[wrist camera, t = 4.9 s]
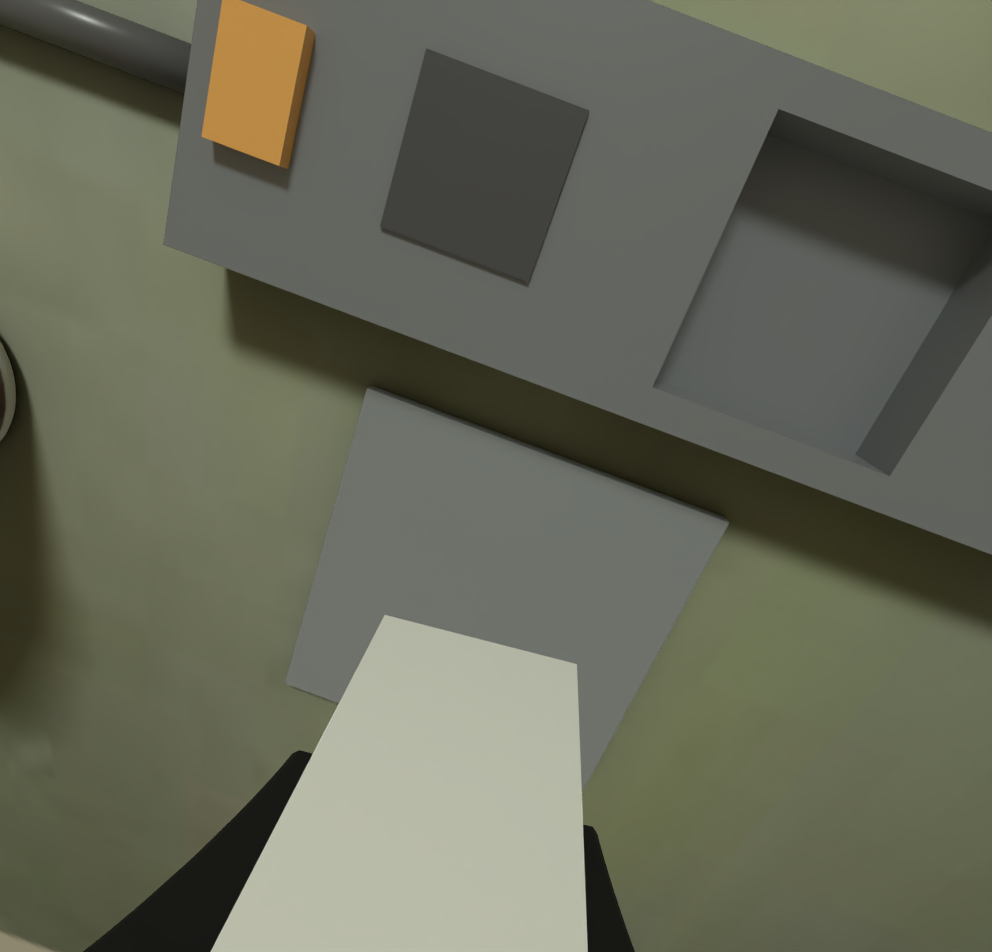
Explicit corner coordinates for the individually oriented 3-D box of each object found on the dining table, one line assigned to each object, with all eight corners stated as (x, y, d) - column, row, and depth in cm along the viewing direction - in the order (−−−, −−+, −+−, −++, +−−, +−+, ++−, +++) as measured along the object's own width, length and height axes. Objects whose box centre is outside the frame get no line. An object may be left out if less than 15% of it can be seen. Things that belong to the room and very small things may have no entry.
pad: (725, 516, 16) (729, 523, 16) (582, 781, 19) (582, 792, 19) (371, 385, 16) (366, 388, 15) (290, 675, 19) (284, 683, 19)
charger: (577, 664, 12) (592, 1083, 6) (529, 808, 13) (501, 1275, 7) (384, 614, 12) (198, 975, 6) (356, 763, 13) (180, 1185, 7)
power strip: (1241, 281, 13) (1414, 284, 10) (1033, 552, 15) (1131, 610, 13) (-125, -243, 12) (-309, -381, 10) (-119, 120, 15) (-265, 88, 12)
